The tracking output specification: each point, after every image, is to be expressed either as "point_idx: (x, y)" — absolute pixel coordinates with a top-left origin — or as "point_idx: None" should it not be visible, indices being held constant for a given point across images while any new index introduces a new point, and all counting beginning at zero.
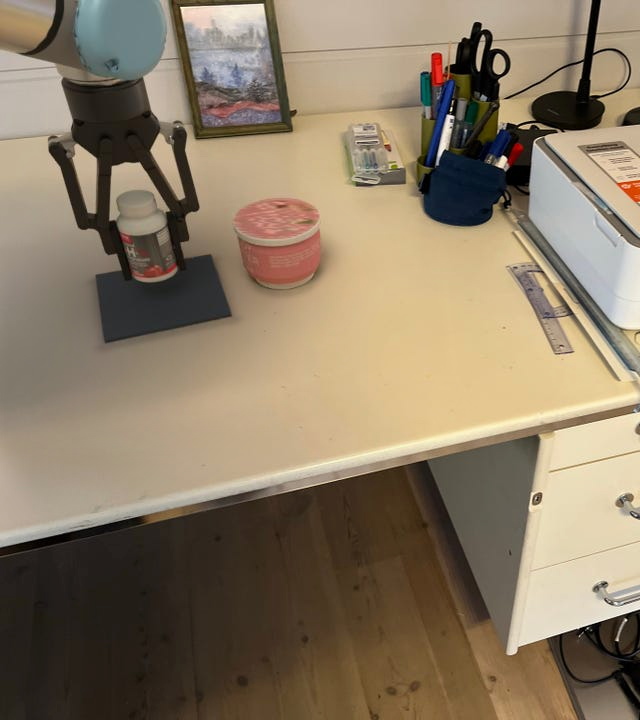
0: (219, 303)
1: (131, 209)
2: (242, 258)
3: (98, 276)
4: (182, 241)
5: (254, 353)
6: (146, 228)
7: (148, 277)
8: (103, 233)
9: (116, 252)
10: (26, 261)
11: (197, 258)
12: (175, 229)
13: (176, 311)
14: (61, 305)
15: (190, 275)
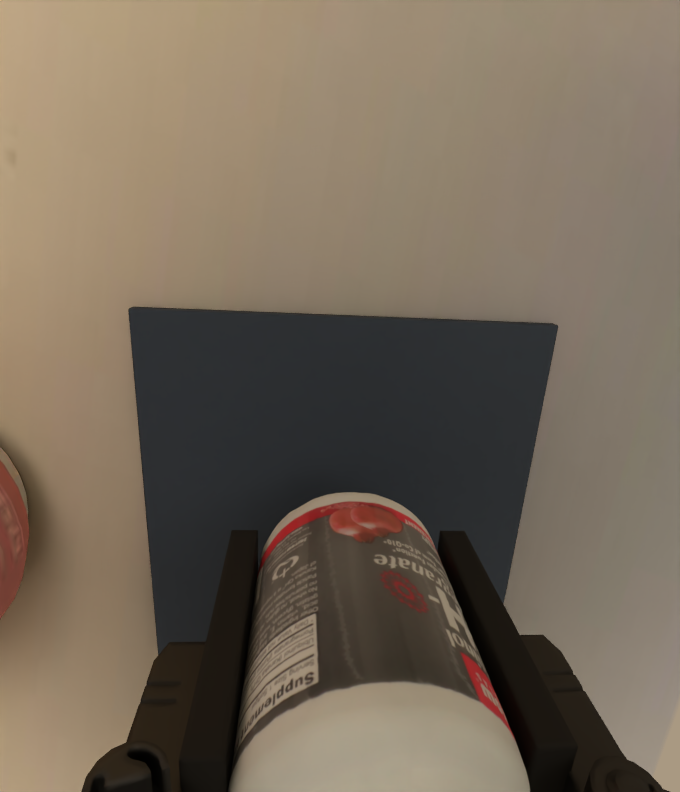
0: (163, 387)
1: None
2: (16, 561)
3: None
4: (199, 644)
5: (68, 14)
6: (376, 726)
7: (386, 508)
8: (598, 752)
9: (517, 632)
10: (624, 747)
11: None
12: (200, 707)
13: (313, 393)
14: (606, 550)
15: None
